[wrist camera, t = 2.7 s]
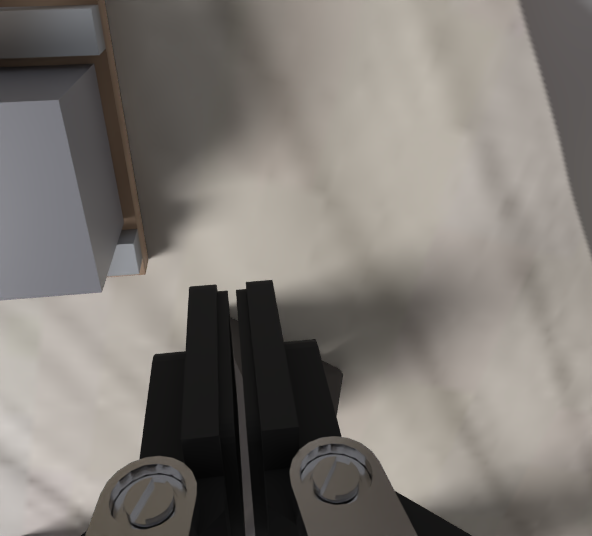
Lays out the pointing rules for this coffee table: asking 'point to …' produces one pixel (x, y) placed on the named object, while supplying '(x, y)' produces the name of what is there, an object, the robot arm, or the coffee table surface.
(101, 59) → the anvil track
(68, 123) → the block
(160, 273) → the coffee table surface
